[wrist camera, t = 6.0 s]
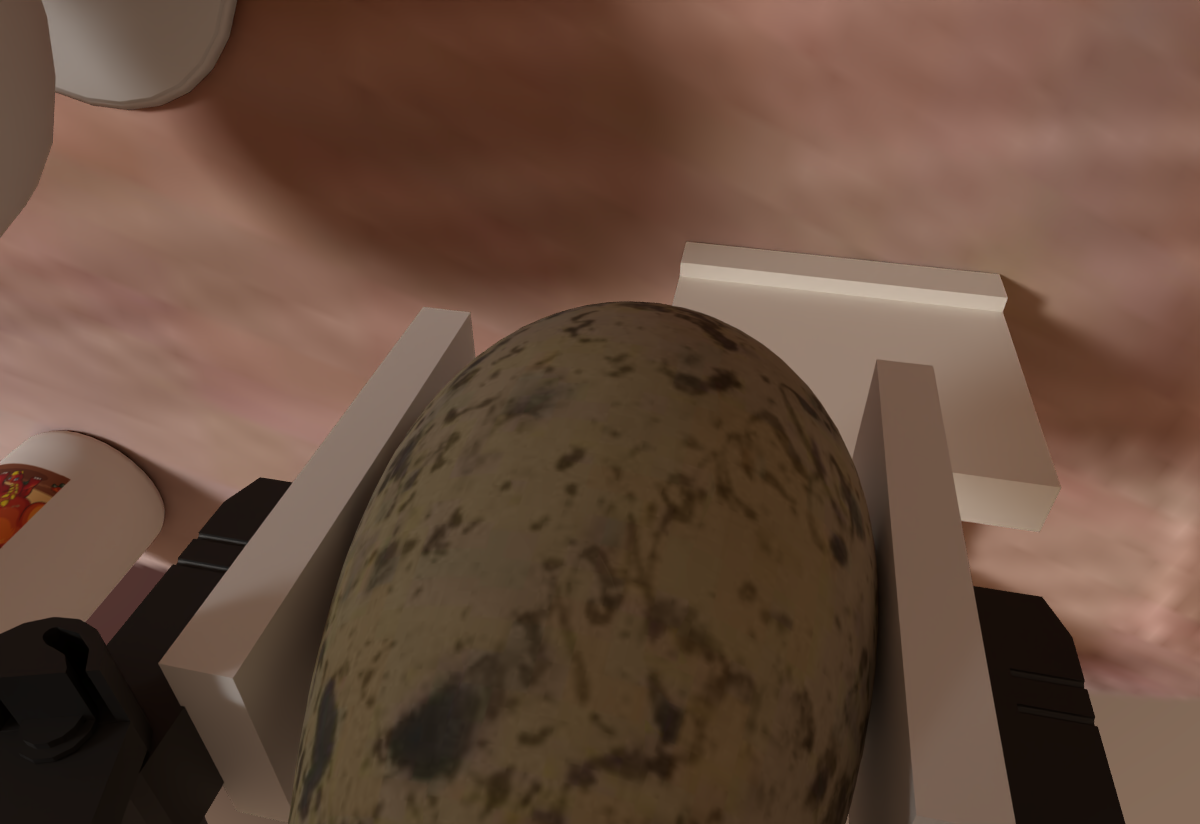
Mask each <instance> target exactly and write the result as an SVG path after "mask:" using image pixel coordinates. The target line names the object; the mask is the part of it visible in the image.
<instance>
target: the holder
mask: <svg viewBox="0 0 1200 824" xmlns="http://www.w3.org/2000/svg"><path fill="white" fill-rule="evenodd" d="M1007 299H1008V297H1007V294H1006V291H1005V288H1004V285H1003V283H1002V280H1001V277H1000V274H992V273H982V272H973V271H963V270H954V269H944V268H935V267H925V266H916V265H906V264H897V263H887V262H877V261H868V260H858V259H849V258H839V257H830V256H820V255H811V254H801V253H792V252H782V251H772V250H763V249H753V248H744V247H734V246H725V245H715V244H706V243H696V242H687V241H686V245H685V249H684V252H683V256H682V260H681V267H680V277H679V281H678V285H677V288H676V292H675V296H674V300H673V304H672V306H677V307H683V308H687V309H690V310H694V311H697V312H700V313H703V314H706V315H709V316H711V317H714V318H716V319H719V320H721V321H723V322H725V323H727V324H729V325H731V326H733V327H735V328H737V329H739V330H741V331H743V332H744V333H746V334H748V335H749V336H751V337H752V338H754V339H756V340H757V341H759V342H760V343H762V344H763V345H765V346H766V347H767V348H768V349H770V350H771V351H772V352H773V353H775V354H776V355H777V356H778V357H780V358H781V359H782V360H783V361H784V362H785V363H786V364H787V365H788V366H789V367H790V368H791V369H792V370H793V371H794V372H795V373H796V374H797V375H798V376H799V377H800V378H801V379H802V380H803V381H804V382H805V383H806V384H807V385H808V386H809V388H810V389H811V390H812V392H813V393H814V394H815V395H816V397H817V398H818V399H819V401H820V402H821V404H822V405H823V407H824V408H825V410H826V411H827V413H828V414H829V416H830V418H831V419H832V421H833V422H834V424H835V425H836V427H837V428H838V430H839V432H840V435H841V437H842V439H843V441H844V443H845V445H846V447H847V449H848V452H849V454H850V456H851V458H852V457H853V453H854V449H855V445H856V441H857V437H858V433H859V429H860V425H861V421H862V417H863V413H864V409H865V405H866V401H867V397H868V393H869V388H870V384H871V380H872V376H873V372H874V368H875V364H876V360H877V359H879V360H888V361H897V362H905V363H914V364H922V365H931V366H933V367H934V373H935V378H936V384H937V389H938V395H939V400H940V406H941V411H942V417H943V423H944V428H945V434H946V439H947V445H948V450H949V456H950V461H951V467H952V473H953V478H954V484H955V489H956V495H957V500H958V506H959V511H960V517H961V521H966V522H973V523H980V524H987V525H993V526H1000V527H1007V528H1014V529H1021V530H1027V531H1034V532H1040V530H1041V528H1042V526H1043V524H1044V522H1045V520H1046V518H1047V516H1048V514H1049V512H1050V510H1051V508H1052V506H1053V504H1054V502H1055V500H1056V498H1057V496H1058V494H1059V492H1060V489H1061V485H1060V482H1059V479H1058V476H1057V473H1056V470H1055V467H1054V464H1053V461H1052V458H1051V455H1050V452H1049V449H1048V446H1047V443H1046V440H1045V437H1044V434H1043V431H1042V428H1041V425H1040V422H1039V419H1038V416H1037V413H1036V410H1035V407H1034V404H1033V401H1032V398H1031V395H1030V392H1029V389H1028V386H1027V383H1026V380H1025V377H1024V374H1023V371H1022V368H1021V365H1020V362H1019V359H1018V356H1017V353H1016V350H1015V347H1014V344H1013V341H1012V338H1011V335H1010V332H1009V329H1008V326H1007V323H1006V320H1005V317H1004V314H1003V310H1004V307H1005V304H1006V302H1007Z"/></svg>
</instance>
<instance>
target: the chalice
mask: <svg viewBox="0 0 1200 824" xmlns="http://www.w3.org/2000/svg"><path fill="white" fill-rule="evenodd" d="M236 4H237V0H0V237H1V236H2V235H3V234H4V232H5V231H6V230H7V228H8V227H9V226H10V225H11V223H12V222H13V221H14V220H15V218H16V217H17V216H18V214H19V213H20V212H21V211H22V209H23V208H24V207H25V206H26V204H27V202H28V201H29V199H30V197H31V196H32V194H33V192H34V191H35V189H36V187H37V186H38V183H39V180H40V177H41V174H42V172H43V169H44V166H45V163H46V160H47V157H48V155H49V152H50V149H51V146H52V143H53V125H54V104H55V92H56V93H59V94H62V95H65V96H68V97H70V98H73V99H76V100H79V101H82V102H85V103H87V104H90V105H93V106H101V107H109V108H117V109H124V110H133V109H140V108H147V107H155V106H162V105H164V104H166V103H168V102H170V101H172V100H174V99H176V98H178V97H180V96H183V95H185V94H187V93H189V92H190V91H191V90H192V89H193V88H194V87H195V86H196V85H197V84H198V83H199V82H200V81H201V80H202V79H203V78H204V77H206V76H207V75H208V74H209V73H210V72H211V71H212V70H213V68H214V66H215V64H216V62H217V60H218V58H219V56H220V55H221V53H222V51H223V49H224V47H225V45H226V43H227V41H228V39H229V37H230V32H231V28H232V23H233V18H234V13H235V9H236Z"/></svg>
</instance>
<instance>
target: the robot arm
mask: <svg viewBox="0 0 1200 824" xmlns="http://www.w3.org/2000/svg"><path fill="white" fill-rule="evenodd" d="M474 358H475V350H474V340H473V331H472V322H471V312H463V311H455V310H446V309H437V308H429V307H423V308H422V309H421V311H420V312H419V313H418V315H417V316H416V317H415V319H414V320H413V321H412V323H411V324H410V325H409V327H408V328H407V330H406V331H405V332H404V334H403V335H402V336H401V338H400V339H399V340H398V342H397V343H396V344H395V346H394V347H393V348H392V350H391V351H390V352H389V354H388V355H387V356H386V358H385V359H384V360H383V362H382V363H381V364H380V366H379V367H378V369H377V370H376V371H375V373H374V374H373V375H372V377H371V378H370V379H369V381H368V382H367V383H366V385H365V386H364V387H363V389H362V390H361V391H360V393H359V394H358V395H357V397H356V398H355V399H354V401H353V402H352V403H351V405H350V406H349V408H348V409H347V410H346V412H345V413H344V414H343V416H342V417H341V418H340V420H339V421H338V422H337V424H336V425H335V426H334V428H333V429H332V430H331V432H330V433H329V434H328V436H327V437H326V438H325V440H324V441H323V443H322V444H321V445H320V447H319V448H318V449H317V451H316V452H315V453H314V455H313V456H312V457H311V459H310V460H309V461H308V463H307V464H306V465H305V467H304V468H303V469H302V471H301V472H300V473H299V475H298V476H297V477H296V479H295V480H294V482H286V481H280V480H273V479H267V478H261V477H260V478H258V479H257V480H256V481H254V482H253V483H251V484H250V485H248V486H247V487H245V488H244V489H242V490H241V491H239V492H238V493H236V494H235V495H233V496H232V497H230V498H229V499H228V500H226V501H225V502H223V504H222V505H221V506H220V507H219V509H218V510H217V511H216V512H215V513H214V515H213V516H212V517H211V518H210V520H209V521H208V522H207V523H206V524H205V526H204V527H203V528H202V529H201V531H200V532H199V537H198V539H193V540H192V542H191V543H190V544H189V545H188V546H187V548H186V549H185V550H184V551H183V553H182V554H181V555H180V556H179V557H178V563H177V564H176V565H172V566H171V567H170V568H169V570H168V571H167V572H166V573H165V575H164V576H163V577H162V578H161V580H160V581H159V582H158V583H157V584H156V586H155V587H154V588H153V589H152V591H151V592H150V593H149V594H148V595H147V597H146V598H145V599H144V600H143V602H142V603H141V604H140V605H139V606H138V608H137V609H136V610H135V611H134V613H133V614H132V615H131V616H130V617H129V619H128V620H127V621H126V622H125V624H124V625H123V626H122V627H121V629H120V630H119V631H118V632H117V633H116V635H115V636H114V637H113V638H112V640H111V641H110V642H109V643H108V644H107V646H106V644H105V643H104V641H103V639H102V638H101V636H100V634H99V632H98V631H97V630H96V629H95V628H93V627H92V626H90V625H88V624H87V623H85V622H83V621H82V620H80V619H73V618H62V617H50V618H46V619H41V620H36V621H31V622H26V623H23V624H21V625H19V626H16V627H14V628H12V629H10V630H8V631H5V632H3V633H1V634H0V824H208V823H207V821H206V819H205V814H206V813H207V811H208V809H209V808H210V806H211V804H212V802H213V801H214V799H215V797H216V796H217V794H218V792H219V791H220V789H221V787H222V786H223V787H224V788H225V790H226V792H227V794H228V796H229V798H230V800H231V802H232V804H233V805H234V807H235V809H236V811H239V812H243V813H247V814H251V815H256V816H260V817H265V818H269V819H273V820H278V821H283V822H286V823H288V819H289V813H290V808H291V800H292V792H293V784H294V776H295V770H296V763H297V757H298V751H299V744H300V738H301V733H302V728H303V723H304V718H305V712H306V706H307V701H308V695H309V691H310V686H311V681H312V677H313V672H314V668H315V663H316V659H317V654H318V650H319V647H320V643H321V639H322V635H323V632H324V628H325V624H326V620H327V617H328V613H329V609H330V606H331V602H332V599H333V596H334V592H335V589H336V586H337V583H338V580H339V577H340V573H341V570H342V568H343V565H344V562H345V559H346V557H347V554H348V551H349V548H350V546H351V543H352V541H353V538H354V536H355V533H356V531H357V528H358V526H359V523H360V521H361V519H362V517H363V515H364V512H365V510H366V508H367V506H368V503H369V501H370V499H371V497H372V494H373V492H374V490H375V488H376V486H377V484H378V483H379V481H380V479H381V477H382V475H383V473H384V471H385V469H386V467H387V465H388V464H389V462H390V460H391V458H392V456H393V454H394V453H395V451H396V450H397V448H398V447H399V445H400V443H401V442H402V440H403V439H404V437H405V436H406V434H407V433H408V431H409V430H410V428H411V427H412V425H413V424H414V423H415V421H416V420H417V418H418V417H419V416H420V414H421V413H422V412H423V410H424V409H425V408H426V407H427V406H428V404H429V403H430V402H431V401H432V400H433V398H434V397H435V396H436V395H437V394H438V393H439V392H440V391H441V390H442V389H443V388H444V386H445V385H446V384H447V383H448V382H449V381H450V380H451V379H452V378H453V377H454V376H455V375H456V374H457V373H458V372H460V371H461V370H462V369H463V368H464V367H465V366H466V365H468V364H469V363H470V362H471V361H472V360H473V359H474ZM852 460H853V463H854V465H855V467H856V470H857V473H858V476H859V479H860V483H861V486H862V489H863V492H864V495H865V499H866V503H867V507H868V512H869V516H870V521H871V527H872V533H873V539H874V545H875V553H876V562H877V572H878V594H879V619H878V638H877V654H876V671H875V679H874V686H873V695H872V703H871V709H870V715H869V721H868V726H867V732H866V738H865V744H864V750H863V756H862V759H861V763H860V767H859V772H858V776H857V781H856V786H855V790H854V794H853V798H852V802H851V806H850V809H849V824H1125V821H1124V817H1123V814H1122V810H1121V807H1120V803H1119V800H1118V797H1117V793H1116V789H1115V786H1114V782H1113V779H1112V775H1111V772H1110V768H1109V765H1108V761H1107V758H1106V754H1105V751H1104V747H1103V743H1102V740H1101V736H1100V733H1099V730H1098V727H1097V726H1095V725H1094V719H1095V715H1094V712H1093V708H1092V705H1091V701H1090V698H1089V694H1088V691H1087V689H1084V682H1085V680H1084V677H1083V673H1082V669H1081V666H1080V662H1079V659H1078V655H1077V652H1076V648H1075V645H1074V641H1073V638H1072V636H1071V635H1070V634H1069V632H1068V631H1067V629H1066V628H1065V627H1064V625H1063V624H1062V623H1061V622H1060V620H1059V619H1058V617H1057V616H1056V615H1055V613H1054V612H1053V611H1052V609H1051V608H1050V607H1049V605H1048V604H1047V603H1046V601H1045V600H1044V599H1043V597H1039V596H1033V595H1027V594H1020V593H1014V592H1007V591H1001V590H994V589H988V588H982V587H975V586H973V584H972V578H971V572H970V567H969V561H968V556H967V550H966V545H965V539H964V534H963V528H962V522H961V517H960V511H959V506H958V500H957V495H956V489H955V484H954V478H953V473H952V467H951V461H950V456H949V450H948V445H947V439H946V434H945V428H944V423H943V417H942V411H941V406H940V400H939V395H938V389H937V384H936V378H935V373H934V367H933V366H931V365H922V364H914V363H905V362H897V361H888V360H879V359H877V360H876V364H875V368H874V372H873V376H872V380H871V384H870V388H869V393H868V397H867V401H866V405H865V409H864V413H863V417H862V421H861V425H860V429H859V433H858V437H857V441H856V445H855V449H854V453H853V457H852Z"/></svg>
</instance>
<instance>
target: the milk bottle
mask: <svg viewBox="0 0 1200 824" xmlns="http://www.w3.org/2000/svg"><path fill="white" fill-rule="evenodd" d="M164 515H165V509H164V503H163V500H162V498H161V496H160V493H159V491H158V490H157V488H156V487H155V485H154V483H153V482H152V481H151V479H150V478H149V477H148V476H147V475H146V474H145V472H144V471H143V470H142V469H141V468H139V467H138V466H137V465H136V464H135V463H134V462H133V461H132V460H130V459H129V458H128V457H126V456H125V455H124V454H122V453H121V452H120V451H118V450H116V449H114V448H113V447H111V446H109V445H108V444H106V443H104V442H101V441H99V440H97V439H95V438H93V437H90V436H87V435H83V434H80V433H77V432H70V431H65V430H62V431H49V432H44V433H41V434H37V435H34V436H32V437H30V438H29V439H27V440H26V441H25V442H23V443H22V444H21V445H20V446H18V447H17V448H16V449H15V450H13V451H12V452H11V453H10V454H8V455H7V456H6V457H5V458H4V459H3V460H1V461H0V634H1V633H3V632H5V631H8V630H10V629H12V628H14V627H16V626H19V625H21V624H23V623H26V622H31V621H36V620H41V619H46V618H50V617H62V618H73V619H80V620H82V621H83V622H86V620H87V619H88V618H89V617H90V616H91V615H92V613H93V612H94V611H95V610H96V609H97V608H98V606H99V605H100V604H101V603H102V602H103V600H104V599H105V598H106V597H107V596H108V594H109V593H110V592H111V591H112V590H113V589H114V587H115V586H116V585H117V584H118V583H119V582H120V580H121V579H122V578H123V577H124V576H125V574H126V573H127V572H128V571H129V569H130V568H131V567H132V566H133V565H134V564H135V563H136V561H137V560H138V559H139V558H140V557H141V555H142V554H143V553H144V552H145V551H146V549H147V548H148V547H149V546H150V544H151V543H152V542H153V541H154V539H155V538H156V537H157V535H158V534H159V533H160V531H161V529H162V526H163V522H164Z"/></svg>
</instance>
